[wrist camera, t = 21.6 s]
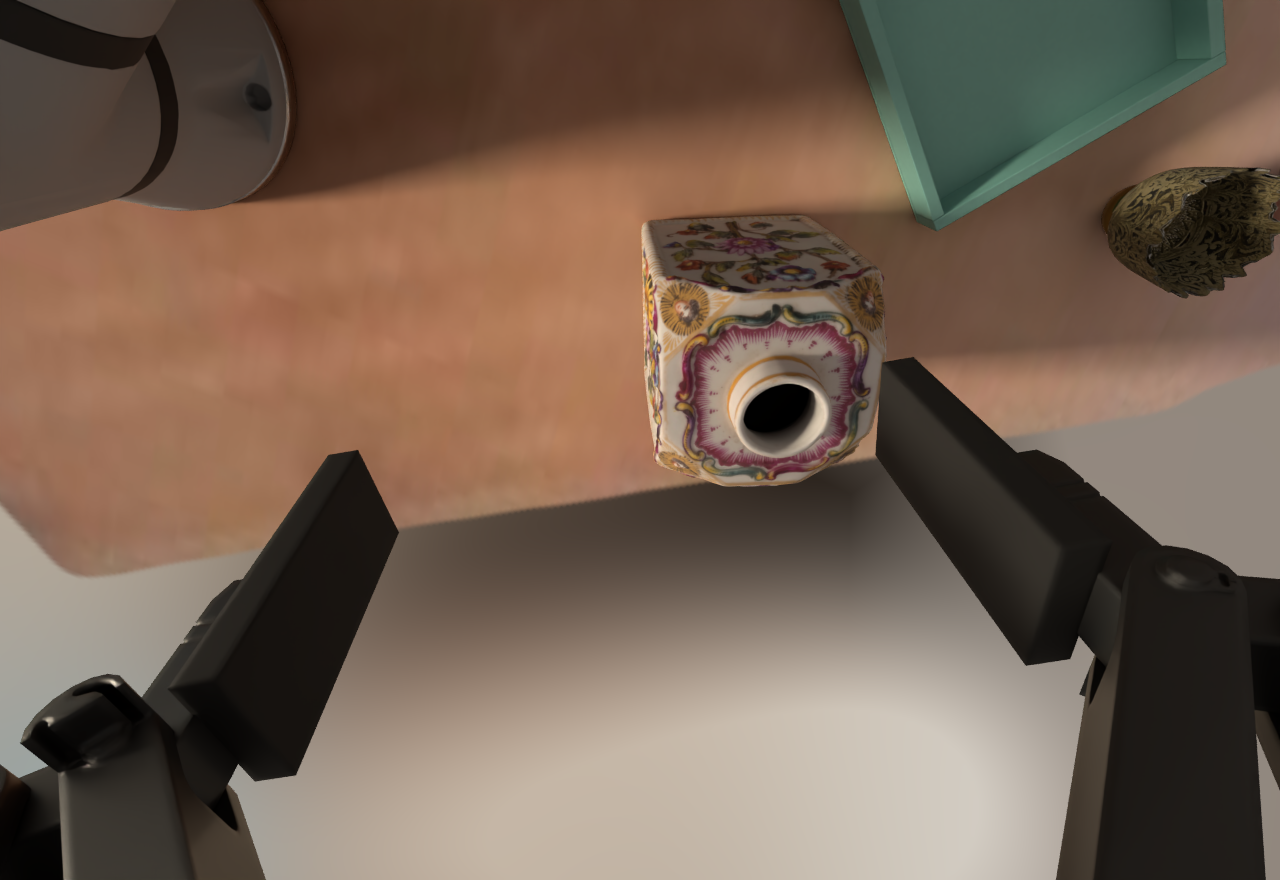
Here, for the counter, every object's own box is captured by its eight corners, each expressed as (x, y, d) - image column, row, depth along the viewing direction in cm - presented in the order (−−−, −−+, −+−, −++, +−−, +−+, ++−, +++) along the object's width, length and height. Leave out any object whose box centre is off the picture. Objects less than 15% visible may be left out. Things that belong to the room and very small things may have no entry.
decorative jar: (810, 211, 41) (934, 296, 25) (791, 367, 47) (882, 510, 32) (635, 217, 40) (655, 307, 25) (639, 373, 46) (657, 522, 31)
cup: (1170, 244, 43) (1276, 276, 37) (1065, 277, 44) (1150, 314, 37) (1187, 135, 40) (1309, 149, 33) (1072, 173, 40) (1167, 194, 34)
